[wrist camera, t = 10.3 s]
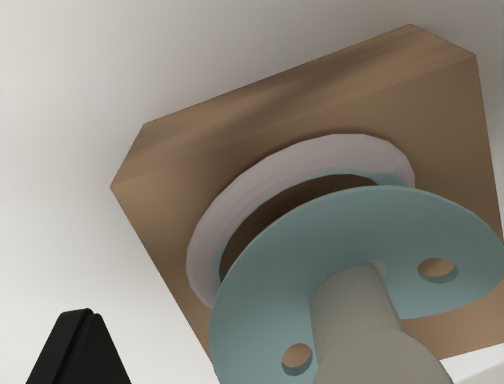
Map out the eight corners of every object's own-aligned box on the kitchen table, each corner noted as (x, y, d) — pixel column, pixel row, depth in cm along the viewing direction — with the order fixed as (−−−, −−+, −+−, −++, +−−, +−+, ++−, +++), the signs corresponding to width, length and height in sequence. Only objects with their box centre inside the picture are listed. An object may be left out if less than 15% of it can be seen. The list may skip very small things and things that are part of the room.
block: (405, 21, 15) (475, 54, 10) (453, 245, 19) (518, 338, 14) (145, 120, 16) (109, 187, 12) (241, 310, 20) (241, 413, 16)
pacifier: (137, 247, 13) (280, 371, 15) (47, 473, 7) (297, 625, 9) (362, 65, 11) (493, 238, 13) (485, 182, 5) (688, 463, 7)
